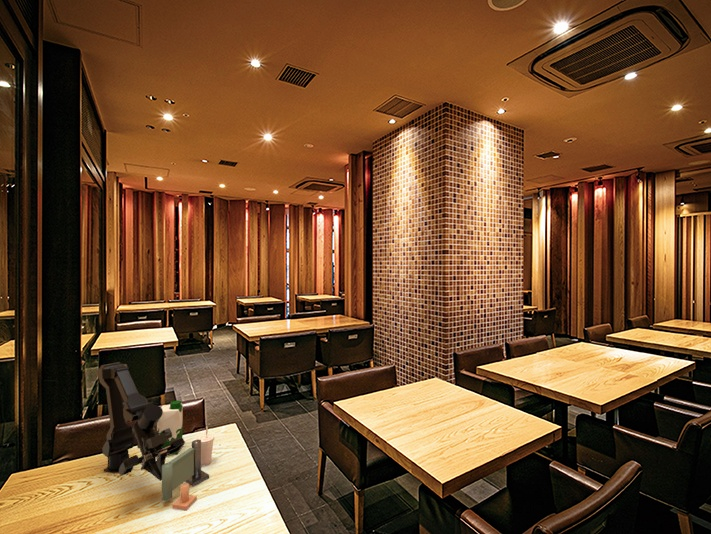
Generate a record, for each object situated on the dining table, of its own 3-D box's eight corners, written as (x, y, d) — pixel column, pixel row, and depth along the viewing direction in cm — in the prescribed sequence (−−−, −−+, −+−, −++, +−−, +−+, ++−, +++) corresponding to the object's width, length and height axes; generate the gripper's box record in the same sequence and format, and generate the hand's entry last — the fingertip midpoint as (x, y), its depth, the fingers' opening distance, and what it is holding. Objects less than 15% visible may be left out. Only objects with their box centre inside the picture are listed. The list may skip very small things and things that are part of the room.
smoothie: (207, 468, 130) (207, 431, 130) (192, 466, 131) (192, 429, 131) (217, 459, 136) (217, 423, 136) (203, 457, 137) (203, 422, 137)
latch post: (172, 508, 108) (172, 489, 108) (183, 498, 113) (183, 479, 113) (186, 510, 107) (186, 491, 107) (196, 499, 112) (196, 481, 112)
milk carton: (179, 455, 139) (178, 405, 139) (154, 458, 137) (154, 408, 137) (184, 444, 148) (184, 397, 148) (161, 447, 145) (161, 399, 146)
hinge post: (199, 472, 127) (199, 435, 127) (209, 478, 123) (208, 440, 124) (183, 480, 122) (183, 442, 122) (193, 486, 119) (192, 447, 119)
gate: (188, 477, 121) (188, 447, 121) (196, 478, 120) (195, 448, 121) (159, 500, 109) (159, 466, 109) (167, 501, 108) (167, 468, 109)
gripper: (122, 434, 106) (138, 482, 100) (182, 413, 122) (199, 454, 115) (112, 452, 111) (127, 499, 104) (171, 430, 126) (187, 470, 120)
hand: (162, 479), depth 111 cm, fingers closed
